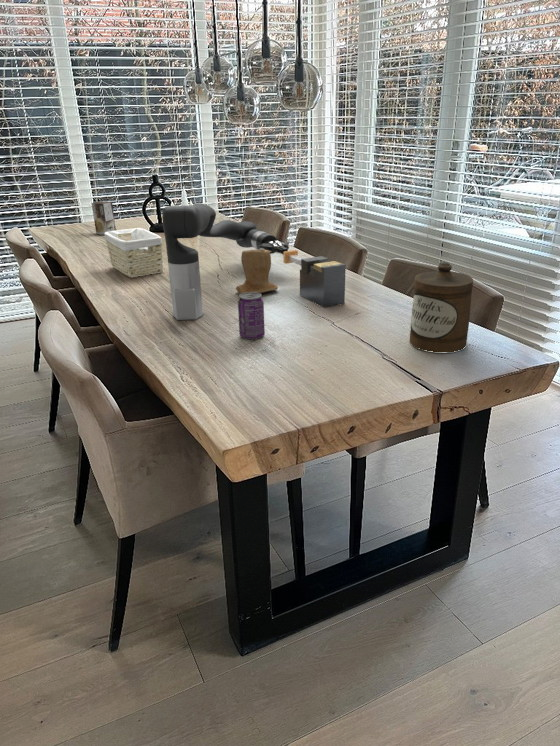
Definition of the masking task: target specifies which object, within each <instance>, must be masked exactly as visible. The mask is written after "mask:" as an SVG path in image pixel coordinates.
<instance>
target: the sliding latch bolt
mask: <svg viewBox="0 0 560 746" xmlns="http://www.w3.org/2000/svg"><path fill="white" fill-rule="evenodd" d="M282 255H283V263H284V264H291V263H294V264H297V265H299V266H301V259H305V257H303V256H300V255H299V251H298V250H297V249H293V250H288V251H285V252H283V254H282ZM313 266H314V265H313ZM313 266H310V270H312V269H313Z"/></svg>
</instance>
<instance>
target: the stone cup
mask: <svg viewBox="0 0 560 746" xmlns="http://www.w3.org/2000/svg"><path fill="white" fill-rule="evenodd" d="M240 256H241V257H240V261H241V265H242V268H243V273H244V279H245V280H244V282H243V283H242V284H240V285H237V286H235V287H236V288H235V290H236V292H237V293H238V295H240V294H242V293H247V292H256V293H260V294H263V293H269V292H271V291H275V290H276V291H277V290H278V289H279V288H278V286H277V285H276V284H274V283H272V282H270V280H269V279H270V278H269V275H270V271H271V267H272V254H270V252H269V251H268V250H261V249H259V250H257V249H247V250H242V252H241V255H240Z"/></svg>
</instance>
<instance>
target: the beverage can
mask: <svg viewBox="0 0 560 746" xmlns="http://www.w3.org/2000/svg"><path fill="white" fill-rule="evenodd" d="M238 295H239V294H238ZM238 297H239V299H238V301H237V310H238V314H237V315H238V327H239V328H238V330H239V336H240V337H241V338H244V339H246V340H256V338H257V339H259V338H262V337H264V335H265V331H266V330H265V306H264V305H265V303H264V299H263V298H262V297H263V295H262V293H256V292H247V293H242V294H240V295H239V296H238Z"/></svg>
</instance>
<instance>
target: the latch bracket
mask: <svg viewBox="0 0 560 746" xmlns="http://www.w3.org/2000/svg"><path fill="white" fill-rule="evenodd" d="M304 258H305V257H304ZM313 265H314V266H313ZM300 266H301V267H300V268H301V269H299V296H300V295H301V296H300V297H303V298H304V299H306V300H308V301H309V302H312V303H313V302H314V304H315V303H316V305H317V304H318V305H317V306H319V305H320V306H319V307H321V308H323V309H325V308H331V307H335V306H341V305H345V303H346V302H345V299H346V298H345V297H346V268H347V267H346V264H345V263H341V262H339V261H337V260H336V261H335V260H334V261H333V260H332V261H329V258H328V257H325V256H322V255H320V256H314V257H313V256H312V257H306V258H305V259H301V265H300ZM310 266H313V269H312V270H310ZM340 304H341V305H340Z"/></svg>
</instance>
